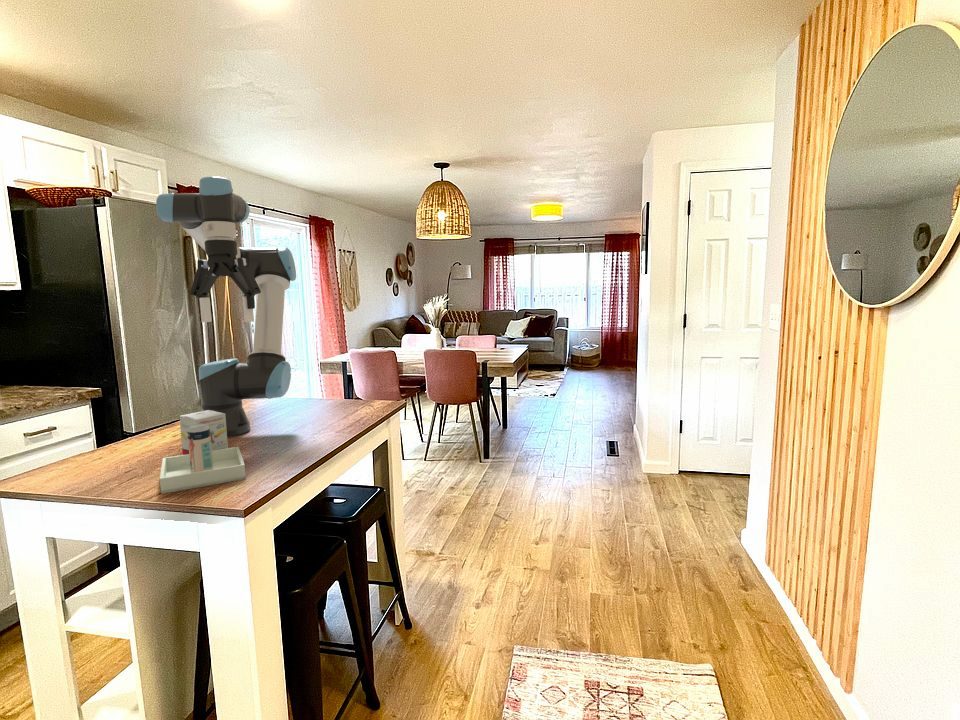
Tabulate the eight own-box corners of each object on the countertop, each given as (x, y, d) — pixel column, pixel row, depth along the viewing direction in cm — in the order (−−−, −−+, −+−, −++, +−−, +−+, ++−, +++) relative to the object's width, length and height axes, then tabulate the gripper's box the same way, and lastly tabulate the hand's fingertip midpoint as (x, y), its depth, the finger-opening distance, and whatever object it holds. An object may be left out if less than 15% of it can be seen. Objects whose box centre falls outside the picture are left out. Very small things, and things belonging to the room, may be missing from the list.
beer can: (196, 470, 130) (191, 423, 129) (216, 469, 131) (211, 422, 129) (188, 477, 126) (183, 428, 124) (209, 475, 126) (204, 427, 125)
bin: (164, 471, 132) (162, 457, 132) (239, 459, 141) (238, 446, 140) (161, 493, 117) (159, 478, 117) (245, 478, 125) (244, 464, 125)
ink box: (199, 462, 139) (195, 418, 137) (182, 457, 144) (177, 415, 142) (229, 453, 146) (226, 411, 145) (212, 448, 151) (208, 408, 149)
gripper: (169, 241, 136) (178, 323, 138) (250, 236, 129) (257, 322, 132) (193, 243, 143) (200, 321, 146) (270, 238, 136) (277, 320, 139)
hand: (227, 322), depth 139 cm, fingers open, 13 cm apart
